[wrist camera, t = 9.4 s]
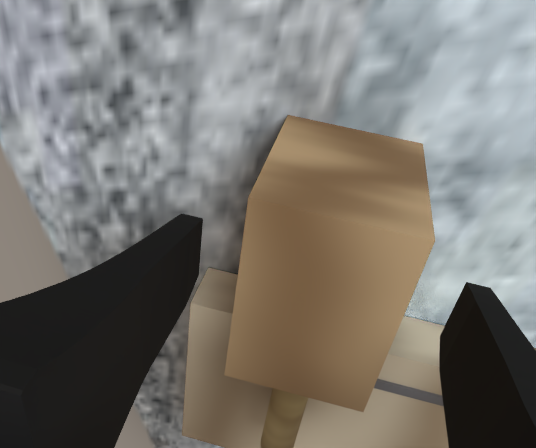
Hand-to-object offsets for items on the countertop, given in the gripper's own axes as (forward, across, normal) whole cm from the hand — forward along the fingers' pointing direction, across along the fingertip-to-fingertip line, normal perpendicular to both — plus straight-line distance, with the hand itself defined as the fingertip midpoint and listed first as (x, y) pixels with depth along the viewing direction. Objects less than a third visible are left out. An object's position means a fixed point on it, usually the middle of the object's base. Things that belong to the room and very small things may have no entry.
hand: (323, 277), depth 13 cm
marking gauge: (+3, 0, +2) cm, 4 cm away
